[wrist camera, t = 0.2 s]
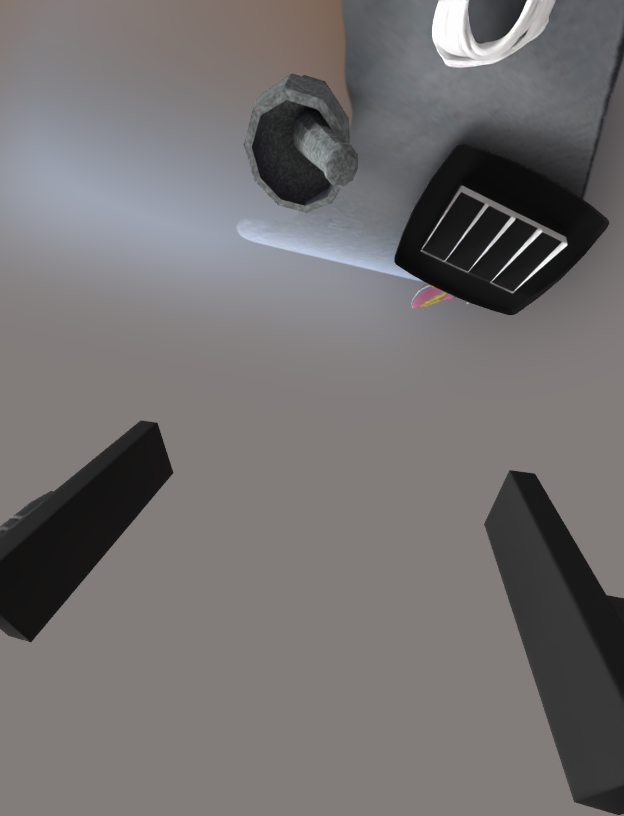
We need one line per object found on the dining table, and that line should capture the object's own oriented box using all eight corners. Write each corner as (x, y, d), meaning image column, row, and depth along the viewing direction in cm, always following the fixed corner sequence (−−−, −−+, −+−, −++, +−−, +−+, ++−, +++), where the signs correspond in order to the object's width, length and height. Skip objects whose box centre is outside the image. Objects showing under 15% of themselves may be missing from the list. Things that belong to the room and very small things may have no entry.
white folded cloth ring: (433, 69, 27) (427, 106, 25) (436, -62, 21) (428, -21, 19) (544, 35, 24) (544, 76, 22) (585, -129, 18) (587, -86, 16)
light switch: (510, 314, 43) (618, 211, 32) (515, 326, 41) (630, 222, 30) (385, 258, 41) (455, 126, 30) (383, 268, 39) (457, 132, 28)
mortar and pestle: (291, 183, 37) (269, 256, 32) (242, 86, 29) (205, 163, 25) (384, 141, 31) (373, 221, 27) (353, 9, 24) (330, 89, 19)
